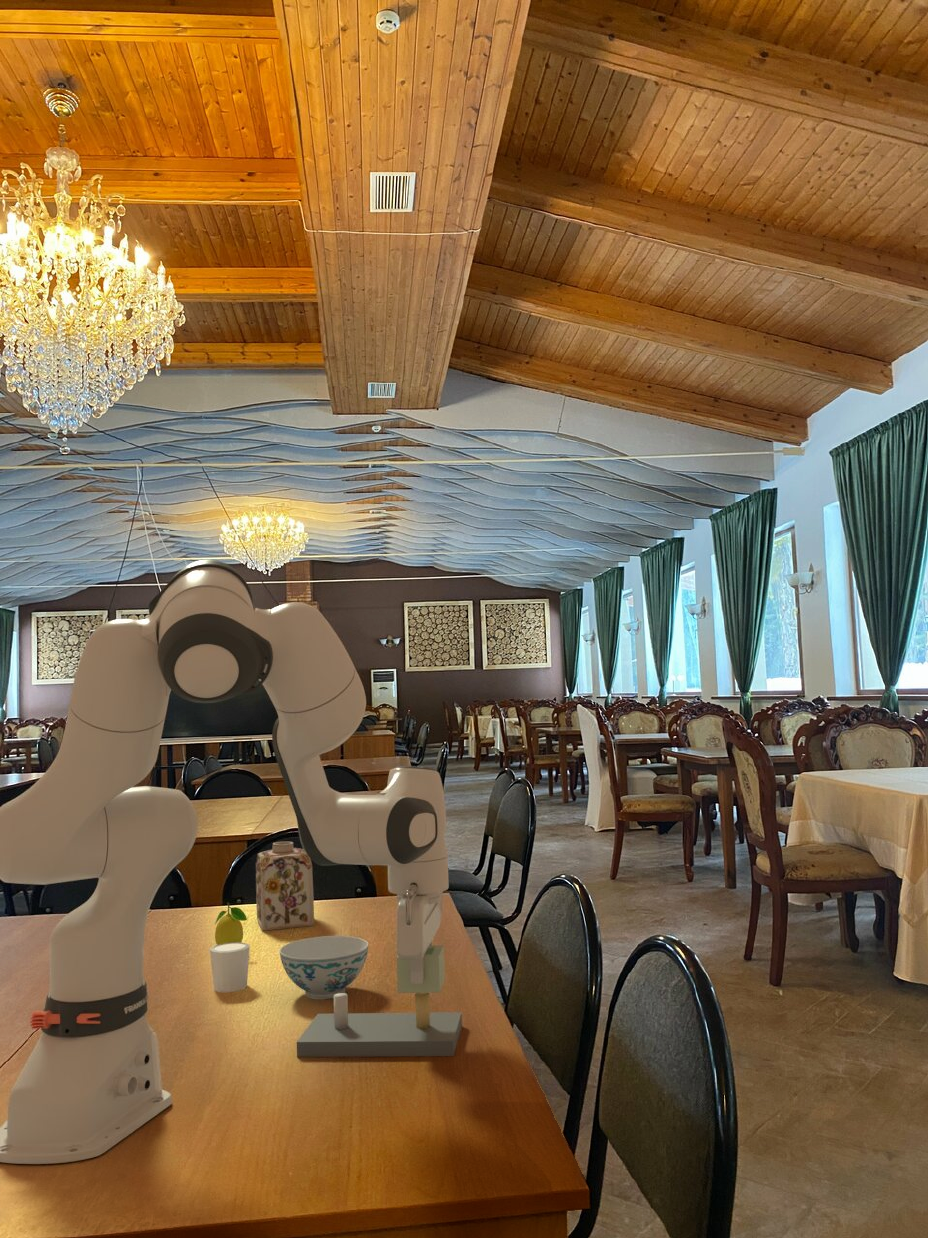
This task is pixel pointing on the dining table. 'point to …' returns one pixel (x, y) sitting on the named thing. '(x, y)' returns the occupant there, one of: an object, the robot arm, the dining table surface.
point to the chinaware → (324, 963)
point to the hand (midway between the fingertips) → (421, 975)
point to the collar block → (432, 973)
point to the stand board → (381, 1032)
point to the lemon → (230, 926)
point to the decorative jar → (284, 888)
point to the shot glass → (230, 966)
